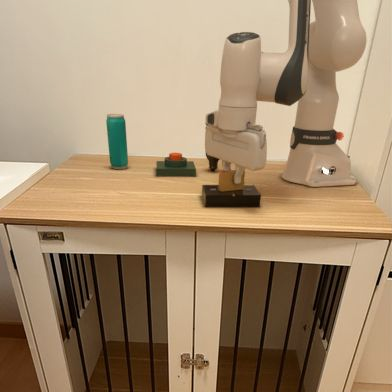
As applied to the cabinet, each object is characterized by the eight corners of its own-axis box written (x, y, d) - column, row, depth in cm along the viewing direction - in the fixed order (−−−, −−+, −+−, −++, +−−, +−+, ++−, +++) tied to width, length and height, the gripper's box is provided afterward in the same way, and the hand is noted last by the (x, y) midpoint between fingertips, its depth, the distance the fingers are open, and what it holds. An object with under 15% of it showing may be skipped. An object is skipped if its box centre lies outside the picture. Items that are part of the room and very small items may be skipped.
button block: (193, 168, 134) (193, 155, 132) (195, 176, 126) (196, 162, 124) (156, 168, 133) (156, 154, 131) (156, 176, 125) (156, 162, 123)
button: (181, 158, 129) (181, 152, 128) (182, 161, 126) (182, 155, 125) (169, 158, 129) (168, 152, 128) (169, 161, 126) (169, 155, 125)
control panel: (252, 195, 112) (253, 183, 110) (260, 208, 103) (261, 195, 101) (201, 195, 111) (201, 183, 109) (205, 208, 102) (206, 195, 100)
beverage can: (126, 165, 135) (122, 113, 126) (130, 169, 131) (126, 116, 122) (108, 166, 134) (104, 113, 125) (112, 170, 129) (107, 116, 120)
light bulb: (201, 171, 131) (203, 118, 122) (206, 168, 135) (208, 116, 126) (218, 173, 130) (221, 120, 121) (222, 170, 134) (226, 117, 125)
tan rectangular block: (239, 187, 107) (241, 168, 104) (243, 189, 106) (245, 169, 103) (218, 189, 105) (219, 170, 102) (221, 191, 103) (222, 172, 101)
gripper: (277, 125, 90) (268, 190, 99) (221, 113, 104) (218, 170, 112) (255, 127, 87) (248, 193, 96) (201, 114, 101) (199, 173, 109)
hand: (232, 181), depth 104 cm, fingers closed on tan rectangular block, 2 cm apart
